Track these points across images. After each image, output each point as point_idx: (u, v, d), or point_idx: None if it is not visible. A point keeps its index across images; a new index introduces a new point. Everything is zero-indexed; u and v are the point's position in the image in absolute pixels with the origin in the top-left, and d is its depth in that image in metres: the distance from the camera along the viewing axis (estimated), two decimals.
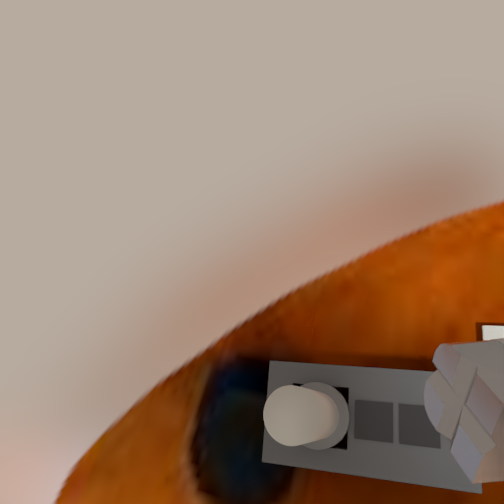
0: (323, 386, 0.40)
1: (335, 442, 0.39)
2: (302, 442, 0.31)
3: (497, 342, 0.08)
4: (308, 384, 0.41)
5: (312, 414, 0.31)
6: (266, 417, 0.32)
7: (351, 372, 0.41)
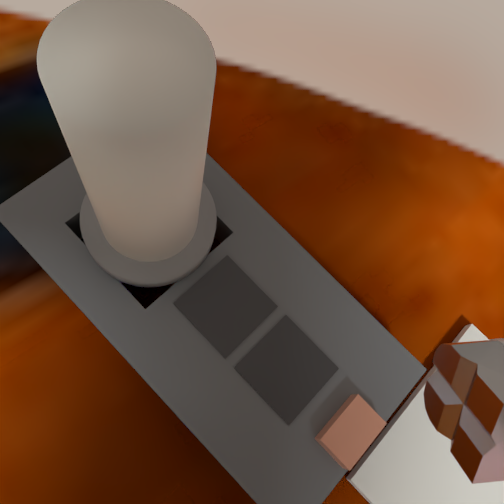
0: (201, 190, 0.20)
1: (140, 278, 0.18)
2: (97, 125, 0.10)
3: (497, 342, 0.08)
4: None
5: (180, 98, 0.10)
6: (68, 17, 0.11)
7: (256, 217, 0.21)
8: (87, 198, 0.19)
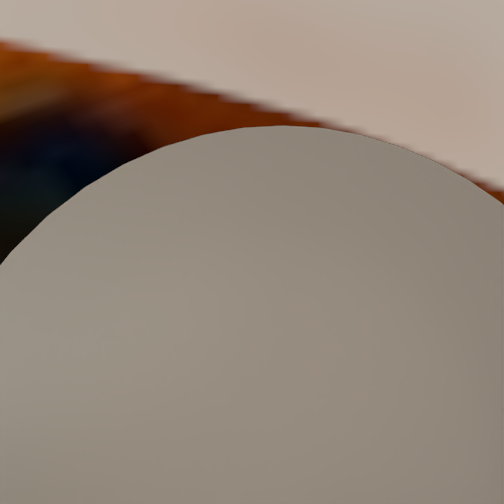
0: None
1: None
2: None
3: None
4: None
5: None
6: (63, 256, 0.02)
7: None
8: None
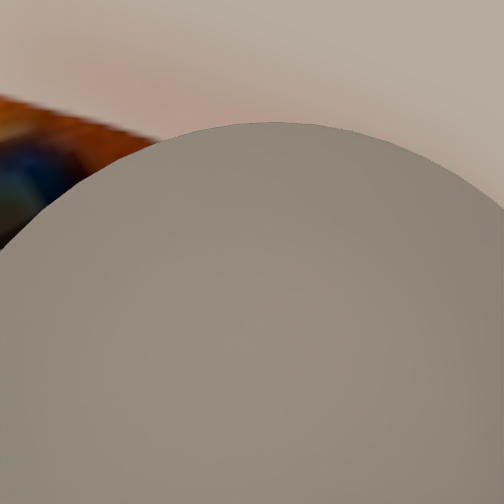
0: None
1: None
2: None
3: None
4: None
5: None
6: (57, 250, 0.02)
7: None
8: None
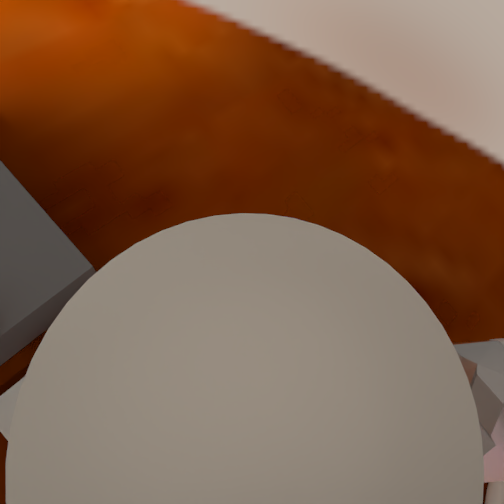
0: None
1: None
2: None
3: (496, 342, 0.08)
4: None
5: None
6: (99, 305, 0.04)
7: None
8: None
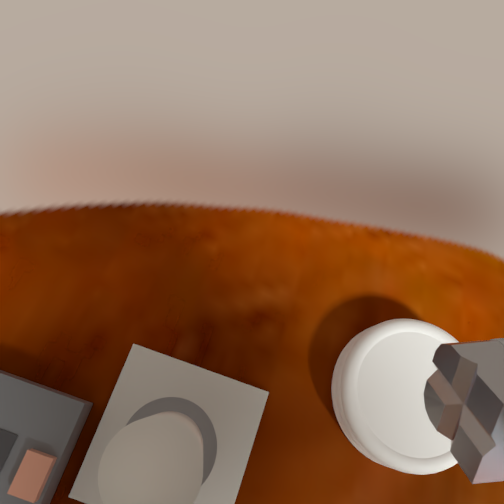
0: (192, 408, 0.27)
1: None
2: None
3: (497, 342, 0.08)
4: (172, 399, 0.27)
5: (190, 480, 0.18)
6: (105, 465, 0.17)
7: None
8: None
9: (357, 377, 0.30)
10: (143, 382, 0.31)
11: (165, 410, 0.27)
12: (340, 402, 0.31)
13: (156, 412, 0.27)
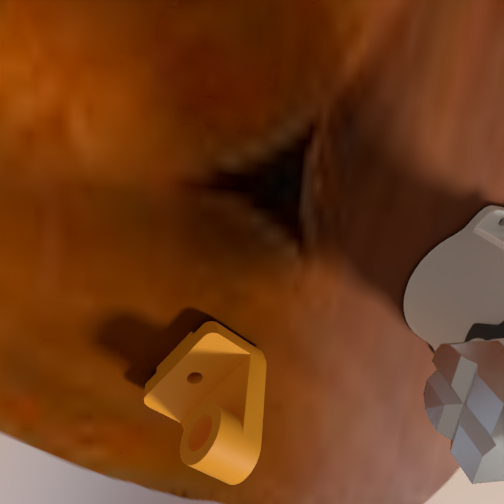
0: None
1: None
2: None
3: (497, 342, 0.08)
4: None
5: None
6: None
7: None
8: None
9: None
10: None
11: None
12: None
13: None
